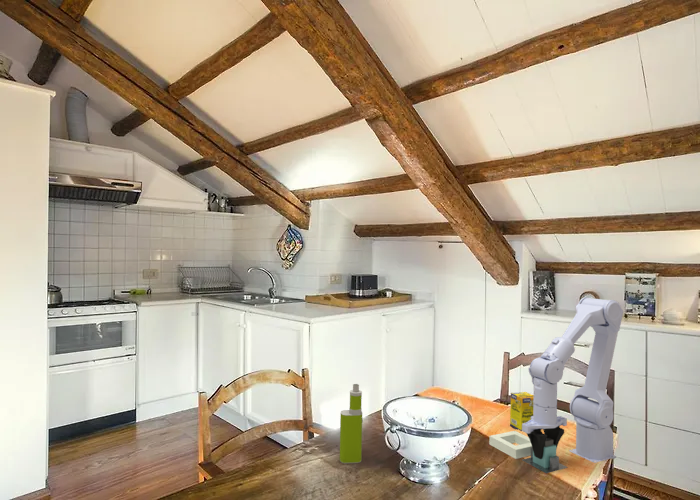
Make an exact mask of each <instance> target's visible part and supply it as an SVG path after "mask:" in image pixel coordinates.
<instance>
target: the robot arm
mask: <svg viewBox="0 0 700 500" xmlns="http://www.w3.org/2000/svg"><path fill="white" fill-rule="evenodd" d="M623 315H624V310H623V308H622V306H621V305H620V303H619V302H618V301H617V300H615V299H603V298H602V299H601V298H594V297H587V296H584V297H581V299H580V300H579V301H578V303H577V304H576V306H575V315H574V316H573V319H571V322H569V325H568V326H567V328H566V330H565V331H564V332H563V333H562V336H557V337H554V338H553V339H552V340H551V343H550V344H549V345H548V347H547V348H546V349H545V351H544V352H543V353H542V354H541V356H540V357H537V358H534V359H533V360H532V361H531V363H530V365H529V367H528V372H529V375H530V377H531V383H532V385H533V395H534V400H533V416H531V420H529V421H528V422H526V423H523V424H522V431H521V432H523V433H526V436H527V437H529V439H530V442H531V444H532V448H533V452H534V456H535V457H537V458H539V459H542V458H543V452H544V444H545V441H546V438H547V437H549V438H551V439H553V444H554V445H556V450H557V449H558V445H559V442H560V441H561V439H562V438H563V435H564V434H565V429H564V428H563V427H565V426H568V419H567V418H566V417H563V416H562V415H559V416H558V415H557V414H558V383H559V382H560V381H561V380H562V379H563V376H564V370H565V367H566V366H565V365H566V363H567V362H568V361H569V359H570V358H571V357H572V356H573V354H574V353H575V350H576V347H575V343H577V341H578V340H579V339H580V338H581V337H582V336H583V334H585V332H586V331H587V330H589V328H590V327H591V328H592V330H593V331H594V333H595V334H594V339H593V344H592V348H591V352H590V357H589V361H588V366H587V371H586V375H585V381H584V385H582V386H581V387H579V388H577V389H575V391H574V394H573V397H572V399H571V400H570V404H569V411H570V414H571V415H572V416H573V421H575V425H576V426H575V427H576V428H575V429H576V432H575V434H576V435H575V444H576V445H575V448H573V449H569V450H568V451H569V452H570V453H572V454H574V455H576V456H578V457H580V458H583V459H585V460H587V461H589V462H591V463H599V462H603V461H606V460H609V459H613V460H615V459H617V456H616V454H615V455H614V432H613V430H612V427H611V425H612V423H613V420H614V403H615V402H614V401H613V399H611V397H610V396H609V395H608V394H607V387H608V381H609V379H610V373H611V372H610V371H611V367H612V362H613V359H614V358H613V357H614V352H615V349H616V343H617V338H618V334H619V332H620V329H621V323H622V320H623ZM560 426H563V427H562V428H561V427H560ZM542 430H543V431H542Z"/></svg>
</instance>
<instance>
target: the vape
mask: <svg viewBox="0 0 700 500" xmlns="http://www.w3.org/2000/svg"><path fill="white" fill-rule="evenodd" d="M362 395H363V391H362V390H361V389H360V384H358V383H354V384H352V389H351V390H350V391H349V410H348V409H347V410H346V409H344V410H341V411H340V418H339V419H340V428H339V429H340V430H339V462H340V463H342V464H358V463H362V451H363V450H362V444H363V440H362V439H363V410H362V399H363V398H362Z"/></svg>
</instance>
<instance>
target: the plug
mask: <svg viewBox="0 0 700 500" xmlns="http://www.w3.org/2000/svg"><path fill="white" fill-rule="evenodd" d="M553 456H557V449H556V445H554V444H553V439H551V438H549V437H547V438H546V441H545V444H544V452H543V458H542V459H539V458H537V457H535V456H534V452H533V462H534V463H536V464H538V465H540V466H542V467H544V468H548V467H550V457H553Z"/></svg>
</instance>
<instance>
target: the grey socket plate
mask: <svg viewBox="0 0 700 500" xmlns="http://www.w3.org/2000/svg"><path fill="white" fill-rule="evenodd" d="M521 461H522V462H525V463H526V464H528V465H530V466H532V467H534V468H535V469H536V470H537V469H538V470H539V471H541V472H543V473H545V474H549V473H552V472H557V471H561V470H563V469H568V468H569V467H568V466H566V465H564V464H562V463H560V456H558V455H556V456H553V457H550V467H548V468H544V467H542V466H540V465H538V464H536V463H534V462H533V448H532V447H531V455H530V457H528V458H522V459H521Z"/></svg>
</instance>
